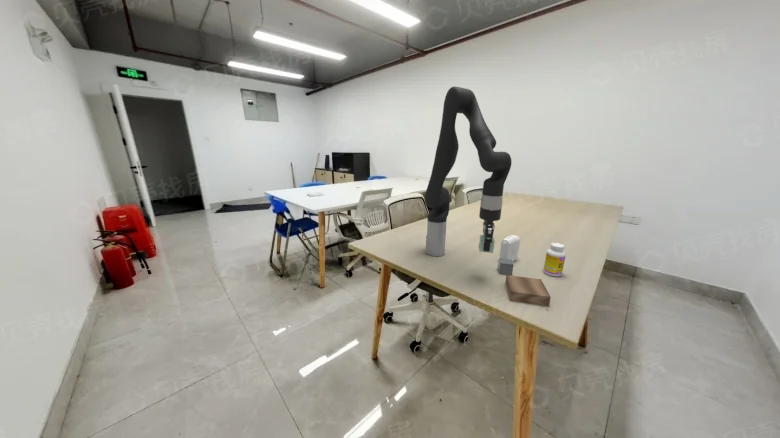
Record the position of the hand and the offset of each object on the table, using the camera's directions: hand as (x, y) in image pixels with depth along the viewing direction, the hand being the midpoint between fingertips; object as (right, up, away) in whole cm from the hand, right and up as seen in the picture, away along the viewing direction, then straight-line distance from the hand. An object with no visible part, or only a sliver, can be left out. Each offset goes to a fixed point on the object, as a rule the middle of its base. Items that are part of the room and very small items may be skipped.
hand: (485, 248), depth 98 cm
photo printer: (+18, -8, +19) cm, 27 cm away
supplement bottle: (+31, -12, +7) cm, 33 cm away
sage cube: (0, -1, 0) cm, 1 cm away
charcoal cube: (+11, -11, +8) cm, 18 cm away
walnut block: (+11, -16, -8) cm, 21 cm away
